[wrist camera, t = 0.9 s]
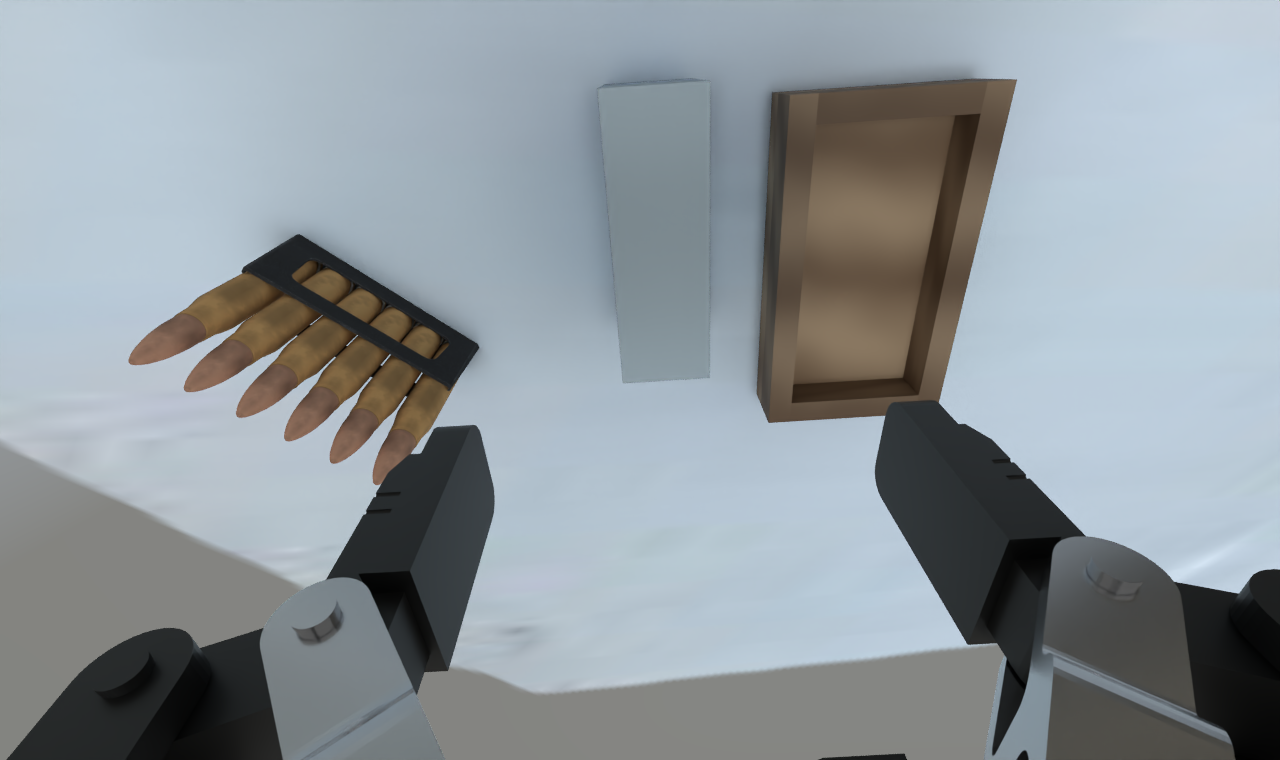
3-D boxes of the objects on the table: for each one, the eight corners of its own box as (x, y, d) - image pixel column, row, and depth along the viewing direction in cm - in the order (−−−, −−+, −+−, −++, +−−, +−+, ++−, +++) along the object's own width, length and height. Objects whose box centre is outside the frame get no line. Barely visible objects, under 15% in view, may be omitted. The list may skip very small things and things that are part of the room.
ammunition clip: (480, 345, 32) (409, 480, 21) (464, 368, 32) (388, 509, 22) (297, 233, 28) (106, 327, 18) (284, 261, 29) (93, 367, 19)
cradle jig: (772, 92, 26) (789, 95, 23) (974, 78, 26) (1016, 79, 23) (756, 393, 34) (768, 422, 31) (910, 384, 34) (936, 412, 31)
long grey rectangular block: (604, 84, 25) (597, 88, 19) (690, 78, 25) (710, 80, 19) (623, 322, 31) (622, 383, 25) (693, 318, 31) (709, 377, 25)
